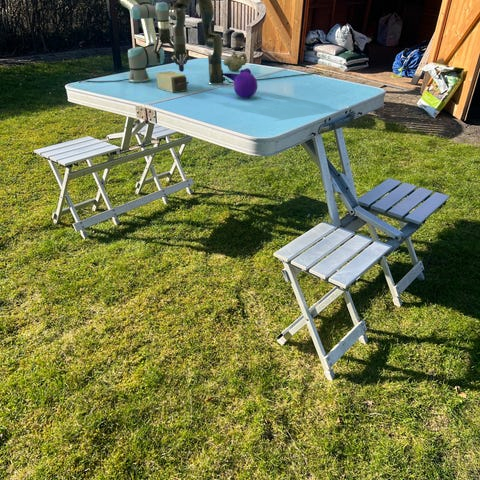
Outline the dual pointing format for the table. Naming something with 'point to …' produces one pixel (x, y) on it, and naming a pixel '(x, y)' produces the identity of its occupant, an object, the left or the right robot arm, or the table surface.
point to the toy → (243, 83)
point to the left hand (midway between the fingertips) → (167, 62)
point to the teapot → (235, 62)
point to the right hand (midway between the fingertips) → (181, 71)
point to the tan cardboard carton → (167, 80)
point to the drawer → (179, 84)
